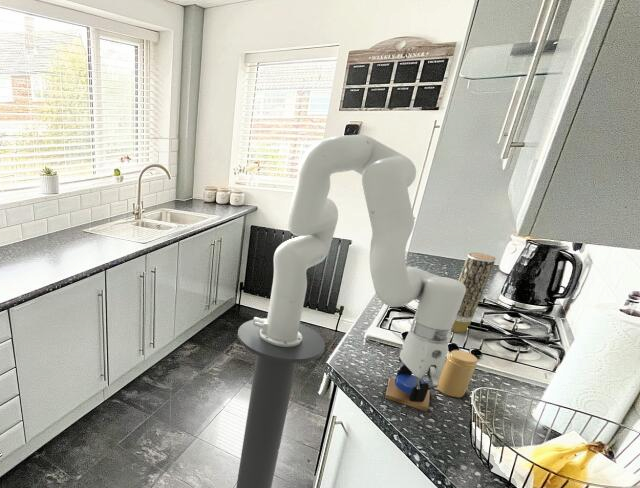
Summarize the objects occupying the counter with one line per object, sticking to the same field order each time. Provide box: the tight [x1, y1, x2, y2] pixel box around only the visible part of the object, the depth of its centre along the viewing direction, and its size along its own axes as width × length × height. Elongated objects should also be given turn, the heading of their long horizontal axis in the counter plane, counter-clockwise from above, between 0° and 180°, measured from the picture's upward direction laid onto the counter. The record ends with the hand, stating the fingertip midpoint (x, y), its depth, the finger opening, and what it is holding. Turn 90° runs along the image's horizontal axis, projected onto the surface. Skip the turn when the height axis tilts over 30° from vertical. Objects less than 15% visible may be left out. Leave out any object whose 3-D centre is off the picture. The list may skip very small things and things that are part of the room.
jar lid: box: [395, 374, 426, 394], centre depth 105 cm, size 7×7×2 cm
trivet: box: [384, 377, 431, 412], centre depth 106 cm, size 9×9×1 cm
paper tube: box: [451, 252, 497, 334], centre depth 133 cm, size 7×7×25 cm
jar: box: [436, 349, 479, 398], centre depth 106 cm, size 6×6×10 cm
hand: (408, 391), depth 106 cm, fingers closed on jar lid, 6 cm apart
